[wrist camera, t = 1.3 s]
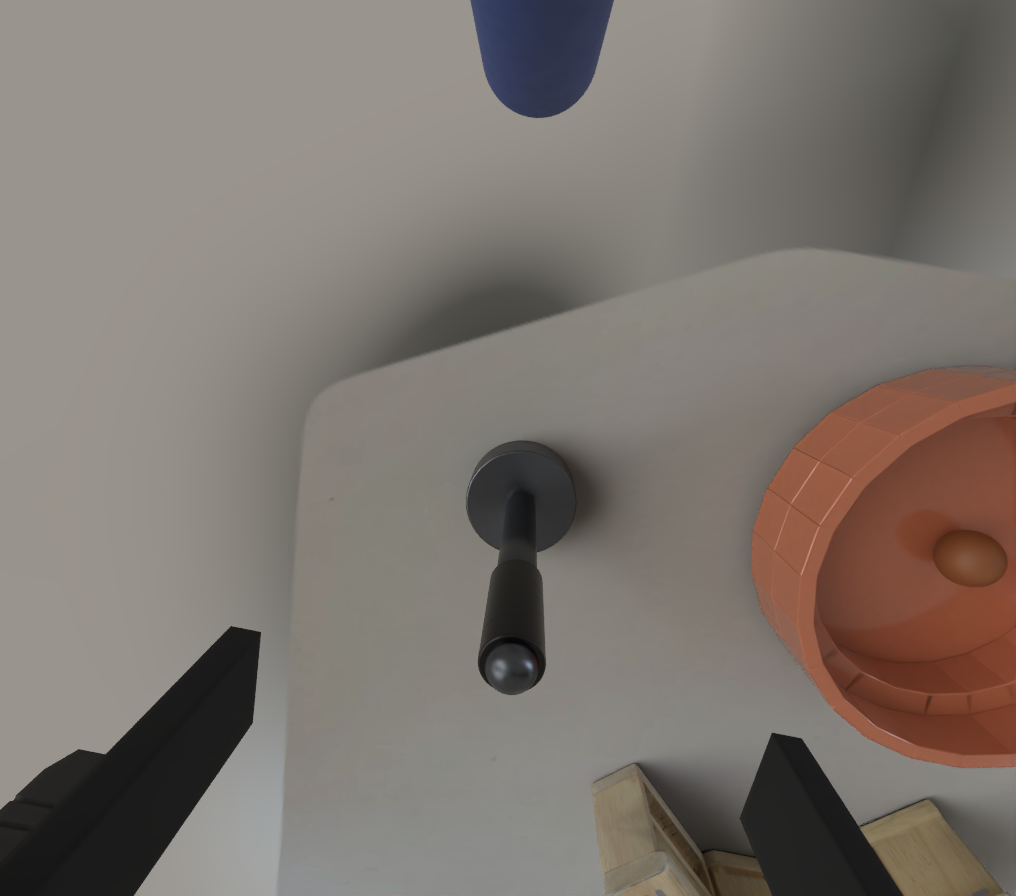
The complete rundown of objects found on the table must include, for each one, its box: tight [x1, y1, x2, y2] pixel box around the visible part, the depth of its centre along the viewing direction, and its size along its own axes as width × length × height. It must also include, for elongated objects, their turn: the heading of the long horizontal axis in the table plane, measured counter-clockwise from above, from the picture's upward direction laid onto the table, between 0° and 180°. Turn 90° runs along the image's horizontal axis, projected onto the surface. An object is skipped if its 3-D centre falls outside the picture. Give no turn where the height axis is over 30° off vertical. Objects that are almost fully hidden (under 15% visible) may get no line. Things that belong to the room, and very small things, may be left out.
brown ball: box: [933, 530, 1008, 587], centre depth 28 cm, size 3×3×3 cm
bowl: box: [751, 366, 1016, 768], centre depth 27 cm, size 20×20×6 cm
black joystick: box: [466, 441, 576, 695], centre depth 23 cm, size 6×6×17 cm
